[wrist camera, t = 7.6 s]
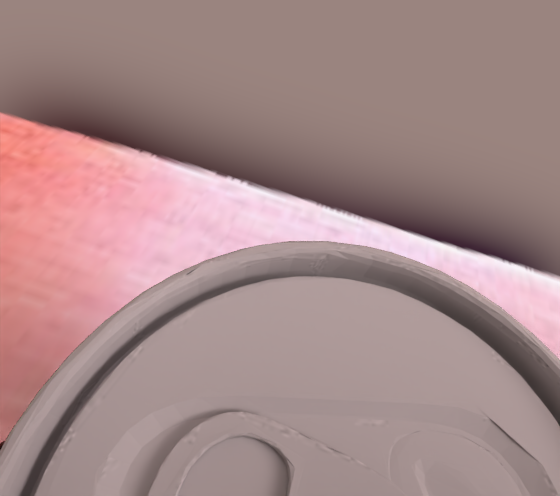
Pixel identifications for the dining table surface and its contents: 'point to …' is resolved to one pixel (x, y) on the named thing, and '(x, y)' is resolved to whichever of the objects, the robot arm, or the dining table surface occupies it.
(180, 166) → the dining table surface
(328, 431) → the beverage can
